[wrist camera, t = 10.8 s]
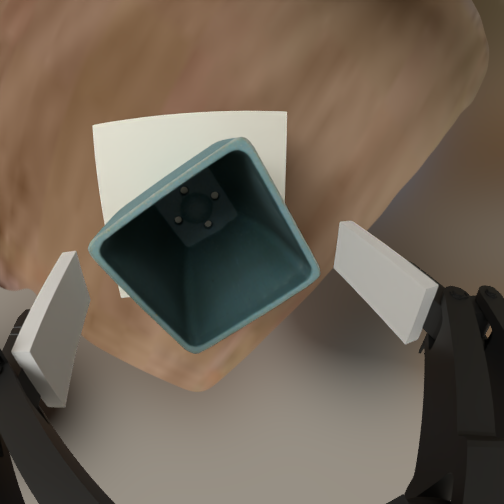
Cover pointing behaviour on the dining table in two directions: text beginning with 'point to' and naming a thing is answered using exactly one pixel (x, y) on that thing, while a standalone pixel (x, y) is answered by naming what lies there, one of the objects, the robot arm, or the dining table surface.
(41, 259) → the dining table surface
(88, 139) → the dining table surface
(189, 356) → the dining table surface
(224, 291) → the flower pot
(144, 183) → the footstool
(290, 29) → the dining table surface
